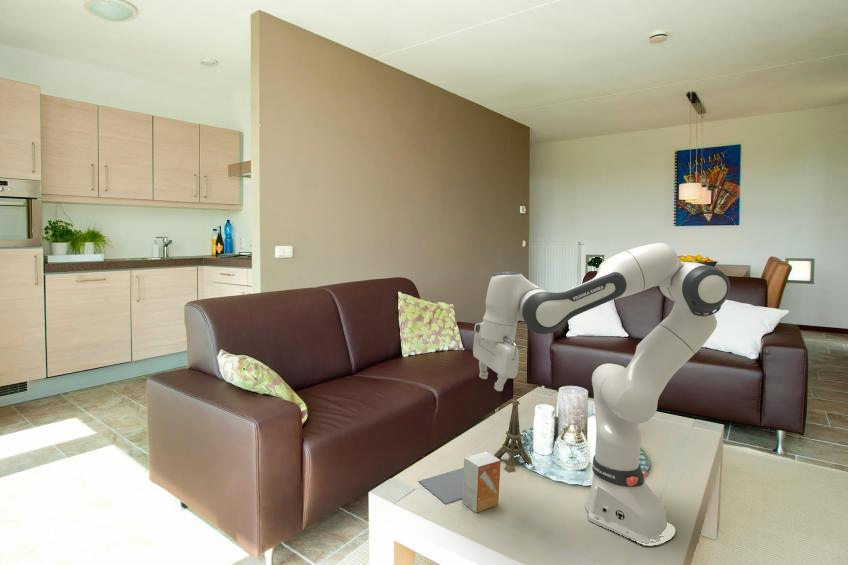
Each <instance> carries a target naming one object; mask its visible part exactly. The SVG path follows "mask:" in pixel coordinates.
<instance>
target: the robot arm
mask: <svg viewBox="0 0 848 565" xmlns="http://www.w3.org/2000/svg"><path fill="white" fill-rule="evenodd" d="M487 287H488V288H487V292H486V298H485V313H484V315H483V317H482V322H479V323H475V324H474V332H475V334H474V337H473V344H472V345H473V346H472V354H473V357H474V358H475V359H477V360H478V361H479V362H478V367H479V374H478V375H479V378H481V379H482V380H487V379H488V377H489V376H488V375H489V372H488V368H489V369H491V370H492V371H493V372H495V373H496V374H497V375H496V376H497V380H496V381H495V382H494V386H493V389H494V390H495V391H497V392H503V390H504V385H505V383H506V382H507V380H508V379H515V378H516V377H517V375H518V372H519V363H520V362H519V361H520V360H519V359H520V353H519V349H518V347H517V344H516V341H515V340H516V334H517V326H518V322H520V321H522V322H524V323H525V325H526V326H527V328H529V330H531V331H532V332H533V333H535V334H539V335H549V334H553V333H555V332H557V331H559V329H560V330H561V328H562V327H563V326H564V325H565V324H567V322H569V321H570V320H571V319H572V318H574V317H577V316H578V315H581V314H583V313H585V312H587V311H591V310H592V309H594V308H597V307H599V306H601V305H603V304H606V303H609V302H610V301H614V300H618V299H621V298H625V297H628V296H632V295H634V294H638V293H641V292H644V291H646V290H649V289H651V288H654V287H655V288H656V290H657V291H658V293H659V294H660V295H662V296H663V297H664V298H666V299H667V300H670V301H672V302H673V303H674V304H673V305H672V306H673V307H672V309H671V310H670V313H669V314H668V315H667V316H666V317H665V318H664V319H663V320H662V321H661V322H660V323H658V324H657V325H656V327H655V328H652V330H651V331H650V332H649V333H648V334H647V335H646V336H645V337H644V338H643V339H642V340H641V341H640V342H639V343H638V344H637V345H636V348H635V353H634V355H633V357H632V358H631V359H630V361H629V363H628V364H627V366H626V367H624V366H622V365H620V364H615V363H610V362H609V363H607V362H606V363H603V364H601V365H599V366H597V367H596V368H595V370H594V371H593V372H592V375H591V383H592V384H591V385H592V389H593V405H594V415H595V425H596V426H595V427H596V428H595V429H596V435H595V451H594V452H595V453H594V456H593V459H592V473H593V474H592V480H591V481H592V482H591V484H590V490H589V494H588V497H587V500H586V501H585V505H584V506H585V509H586V512H587V513H588V514H587V515H588V516H587V519H588V521H590V522H592V523H593V524H595V525H598V526H600V527H601V526H602V528H604V529H606V528H607V529H606V530H608V529H609V530H608V531H610V530H612V531H614V532H616V533H618V534H621V535H623V536H625V537H628V538H630V539H633V540H635V541H639V542H641V543H645V544H649V543H656V542H659V541H661V540H660V538H661V537H664V536H659V535H661V534H662V532H663V531H664V530H665V529H666V527H667V521H668V519H667V518H668V517H667V512H666V507H665V505H664V503H663V502H662V501H661V500H660V498H659V497H658V496H657V495H656V494H655V493H654V491H653V490H652V489H651V488H650V487H649V485H648V484H647V483H646V481H645V478H647V477H648V476H649V472H648V471H646V472H643V470H642V467H641V464H640V459H641V458H640V456H641V445H642V444H641V443H642V435H641V431H640V428H639V424H644V423H646V422H649V421H650V420H651V419H652V418H653V417H654V416H655V414H656V413H657V409H658V403H659V402H658V401H659V398H660V396H661V394H662V393H663V391H664V389H665V388H666V386H667V384H668V383H669V381H670V380H671V378H673V376H674V375H675V374H676V373H677V372H678V371H679V370H680V369H681V368H682V367H683V365H685V364H686V363H687V362H688V361H689V360H691V358H692V357H693V356H694V355H695V354H696V353H697V352H698V351H699V350H701V348H702V347H703V346H704V345H705V344H706V342H707V341H708V340H709V338H710V337H711V336H712V335H713V333H714V331H715V330H716V329H717V326H718V321H717V317H716V315H715V314H717V313H718V312H719V311H720V310H721V308H722V305H724V303H725V301H726V300H727V299H728V296H729V293H730V290H731V283H730V279H729V277H728V276H727V275H726V274H725V273H724V272H723V271H722V270H721V269H719V268H717V267H715V266H712V265H707V264H705V263H704V264H703V263H700V262H695V261H681V260H680V259H679V256H678V255H677V252H676V250H675V249H674V248H673V247H672V246H671V245H669V244H668V243H665V242H654V243H649V244H645V245H641V246H636V247H633V248H629V249H627V250H624V251H622V252H618V253H617V254H615V255H612V256H611V257H609V258H607V259H605V260H603V261H602V262H601V263H600V265H599V266H598V269H597V272H596V275H595V276H594V277H593V278H591V279H590V280H588V281H586V282H582V283H581V284H578V285H576V286H573V287H571V288H569V289H566V290H564V291H558V292H550V291H547V290H546V289H544V288H542V287H540V286H538V285H536V284H534V283H533V282H531V281H530V280H528V279H527V278H526V277H525V276H524V275H523V274H522V273H521V272H520V271H499V272H496V273H495V274H493V275H492V276H491V278H490V279H489V284H488V286H487ZM612 531H611V532H612ZM614 532H613V533H614ZM616 533H615V534H616ZM618 534H617V535H618ZM621 535H620V536H621ZM623 536H622V537H623ZM625 537H624V538H625ZM650 539H652V540H653V539H654V540H656V542H654V541H650Z"/></svg>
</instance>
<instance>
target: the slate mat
mask: <svg viewBox="0 0 848 565" xmlns="http://www.w3.org/2000/svg"><path fill="white" fill-rule="evenodd" d="M463 474H464V467H462V468H457V469H454V470H451V471H448V472H445V473H441V474H437V475H433V476H430V477H427V478H424V479H421V480H418V481H417V482H418V483H419V484H420V485H422V487H424V488H425V489H427V491H428V492H430V493H431V494H432V495H433V496H435V497H436V498H437V499H438V500H439V501H440V502H442V503H443V504H444V505H449V504H451V503H454V502H457V501H462V496H463Z"/></svg>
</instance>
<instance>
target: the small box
mask: <svg viewBox="0 0 848 565" xmlns="http://www.w3.org/2000/svg"><path fill="white" fill-rule="evenodd" d="M501 466H502V465H501V460H500V459H498V458H496V457H495V456H494V454H491V453H490V452H488V451H483V452H479V453H475V454H472V455H469V456H466V457H463V468H464V474H463V496H462V499H461V502H462V503H463V504H464V505H465V506H466V507H467V508H469V509H470V510H471V511H473V512H474V513H479V512H482V511H485V510H487V509H490V508H494V507H495V506H499V497H500V479H501V478H500V477H501Z"/></svg>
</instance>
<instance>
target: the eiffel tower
mask: <svg viewBox="0 0 848 565" xmlns="http://www.w3.org/2000/svg"><path fill="white" fill-rule="evenodd" d="M510 404H512V407H511V414H510V419H509V425H508V430H506V432H505V434H506V437H505V440H504V443H502V444H501V447H500V448H499V449H498V450H497V451H496V452H495V453H494V454H493V456H495V457H496V458H498V459H500V460H501V461H502V457H503V456H504V455H505V454H506V453H507V455H508V456H509V457H508V460H507V462H506V464H505V466H504V467H503V470H505V472H507V473H508V474H510V473H514V472H517V470H516V468H515V460H514V459H515V458H514V456H516V455H518V454H519V455H520V456H521V458H522V461H523V463H527V464H528V465H529V464H532V463H533V461H532V459H531V458H530V457H529V455H528V453H527V452H526V451H525V449H526V448H525V447H524V445H523V443H522V442H523V441H522V437H523V435H522V433H521V432H520V430H521V429H520V419H519V405H521V403H520V400H518V399H517V394H515V397H514V399H512V400H511V402H510Z"/></svg>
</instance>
